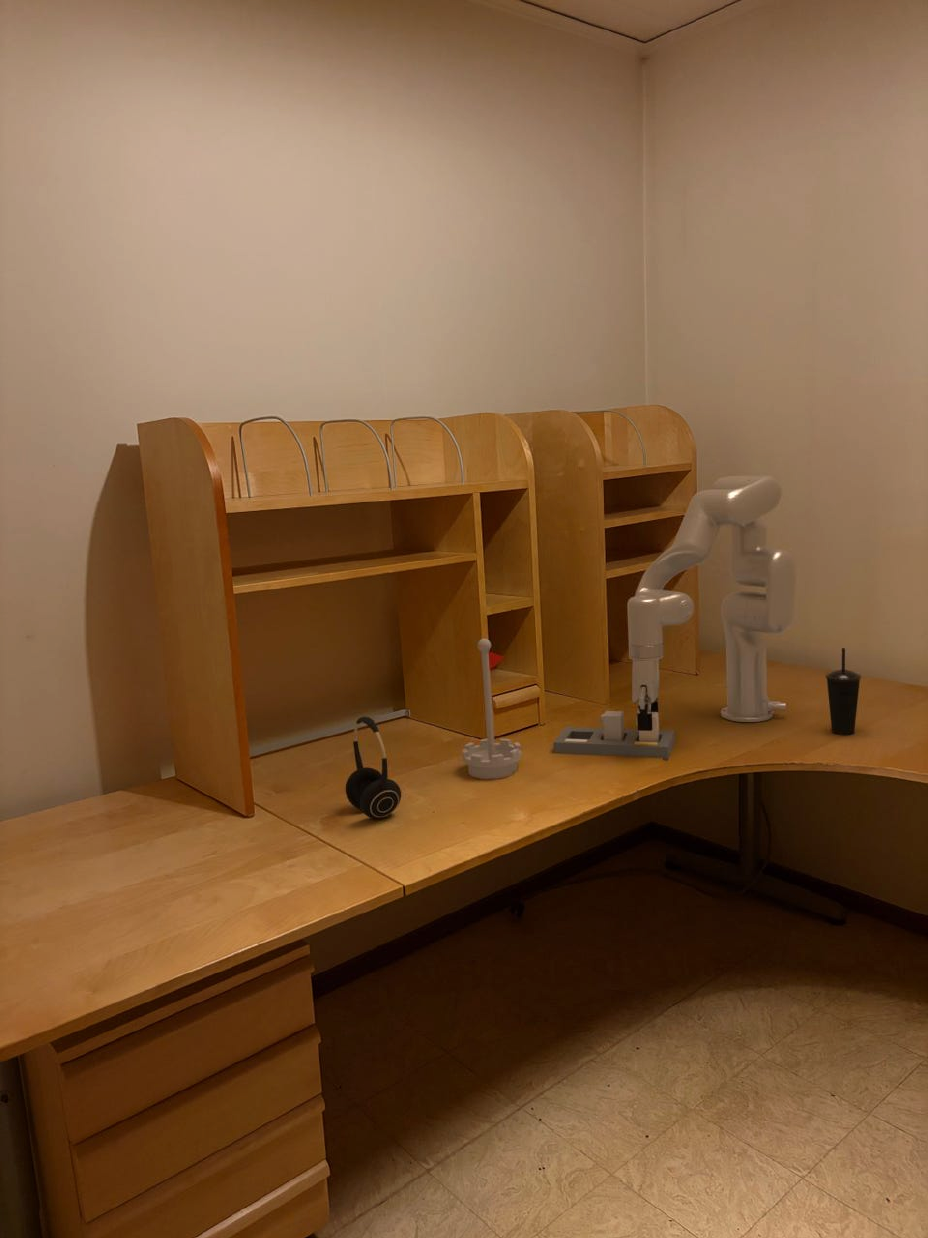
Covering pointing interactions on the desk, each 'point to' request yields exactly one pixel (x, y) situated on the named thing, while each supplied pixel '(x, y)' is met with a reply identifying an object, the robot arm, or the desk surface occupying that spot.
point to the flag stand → (490, 733)
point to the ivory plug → (650, 735)
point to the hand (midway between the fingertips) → (648, 724)
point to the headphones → (372, 782)
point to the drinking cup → (843, 698)
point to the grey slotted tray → (612, 740)
